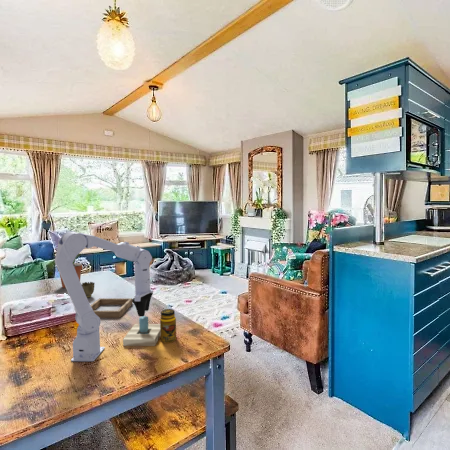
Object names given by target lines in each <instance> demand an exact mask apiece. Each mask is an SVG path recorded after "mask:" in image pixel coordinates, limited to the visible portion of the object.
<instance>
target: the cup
mask: <svg viewBox="0 0 450 450" xmlns="http://www.w3.org/2000/svg"><path fill="white" fill-rule="evenodd" d="M81 285H82V287H83V290H84V292H85V295H86V297H87V299H89V298H92V294H94V292H95V285H96V284H95V282H93V281H85V282H81Z"/></svg>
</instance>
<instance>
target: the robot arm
mask: <svg viewBox="0 0 450 450" xmlns="http://www.w3.org/2000/svg"><path fill="white" fill-rule="evenodd" d="M57 242H58V244H57V249H56V253H55V257H54V264H55V265H56V267H57V272H59V276H60V275H61V278H62V280H63V282H64V284H65V287H66V288H65V289H66V291H67V294H68V296H69V298H70V300H71V303H72V305H73V309H74V311H75V312H74V313H75V317H74V318H75V321H76V324H78V326H77V328H76V336H75V338H74V340H72V356H73V357H72V358H71V359H70V361H71V362H95V360H97V358H98V357H99V355H101V353H102V352H103V351H104V350H105V348H106V347H105V346H101V341H100V339H101V337H100V326H101V318H99V317H98V316H97V315H96V314H95V313H94V311H95V310H94V311H93V309H92V307H91V306H90V305H91V304H90V301H89V300H88V299H89V298H87V297H86V295H85V292H84V290H83V287H82V285H81V284H82V282H81V279H80V280H79V278H78V275H77V273H76V270H75V268H74V266H73V261H74V259H75V257H76V256H77V255H78V254H81V253H82V251H84V250H85V248H86V249H90V248H94V247H95V248H99V249H102V250H105V251H106V250H107V251H110V252H113V253H114V254H115V256H116V257H117V258H120V259H124V260H126V261H129V262H133V263H134V265H133V266H134V297H133V298H132V302H133V305H134V306H135V310H136V313H137V316H138V317H142V316H146V314H145V313H146V312H148V311H149V309H150V305H151V300H152V296H153V295H154V289H151V273H150V269H151V268H150V263H151V262H152V260H153V256H152V254H151V253H150V251H149V250H147V249H144V248H141V246H140V245H137V246H135V245H133V244H132V245H131V244H130V242H129V241H124V242H123V241H121V242H119V243H115V242H112V241H110V240H107V239H104V238H101V237H99V236H95V235H93V234H89V233H83V232H77V231H74V230H70V231H66V232H64V233H63V234H62V236H61V237H60V238H59V240H58V241H57ZM78 256H79V255H78ZM78 256H77V257H78ZM77 257H76V258H77ZM75 260H76V259H75ZM74 262H75V261H74ZM61 278H60V279H61Z"/></svg>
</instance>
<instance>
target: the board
mask: <svg viewBox="0 0 450 450" xmlns="http://www.w3.org/2000/svg"><path fill="white" fill-rule="evenodd" d="M148 330H149V331H148V334H140V332H139V331H140V329H139V323H135V324H133V326H132V327H130V330H129V331H128V332H127V333H126V335H124V337H123V339H122V346H124V347H155V346H156V345H157V343H158V341H159V340H160V338H161V333H160V323H148Z"/></svg>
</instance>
